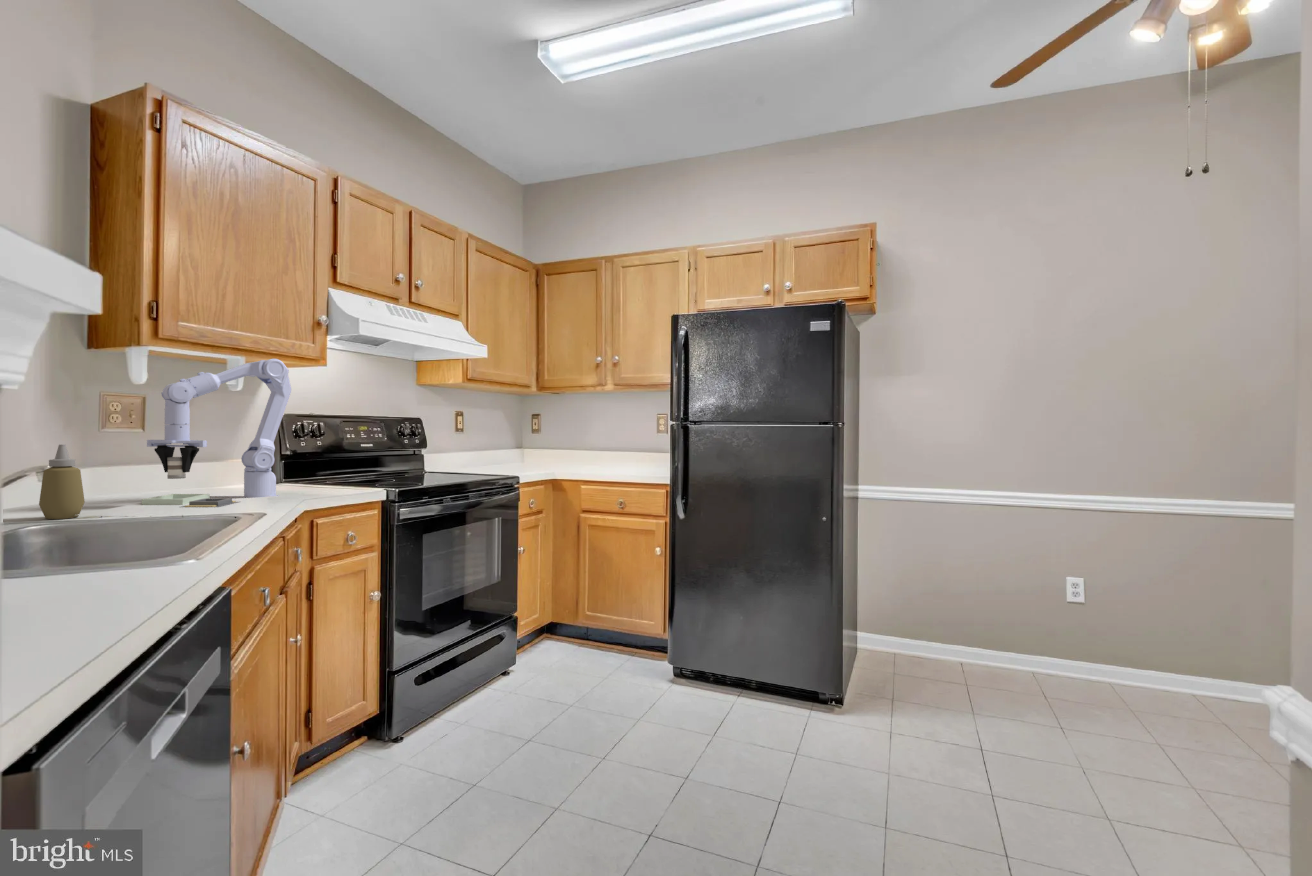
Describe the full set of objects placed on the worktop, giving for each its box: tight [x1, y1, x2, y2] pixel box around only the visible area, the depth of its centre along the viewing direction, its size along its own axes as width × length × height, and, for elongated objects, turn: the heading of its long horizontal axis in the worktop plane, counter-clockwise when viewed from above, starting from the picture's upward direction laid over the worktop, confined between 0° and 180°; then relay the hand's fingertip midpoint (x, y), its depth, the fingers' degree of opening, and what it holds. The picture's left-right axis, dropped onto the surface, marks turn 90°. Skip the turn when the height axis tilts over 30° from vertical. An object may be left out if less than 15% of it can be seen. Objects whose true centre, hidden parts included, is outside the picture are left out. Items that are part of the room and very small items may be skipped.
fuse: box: [167, 456, 186, 480], centre depth 176 cm, size 4×4×6 cm
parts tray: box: [141, 493, 211, 506], centre depth 176 cm, size 13×10×2 cm
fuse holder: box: [180, 497, 240, 508], centre depth 172 cm, size 12×10×2 cm
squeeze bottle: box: [38, 444, 86, 520], centre depth 151 cm, size 8×8×18 cm
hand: (177, 472), depth 176 cm, fingers closed on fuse, 4 cm apart
